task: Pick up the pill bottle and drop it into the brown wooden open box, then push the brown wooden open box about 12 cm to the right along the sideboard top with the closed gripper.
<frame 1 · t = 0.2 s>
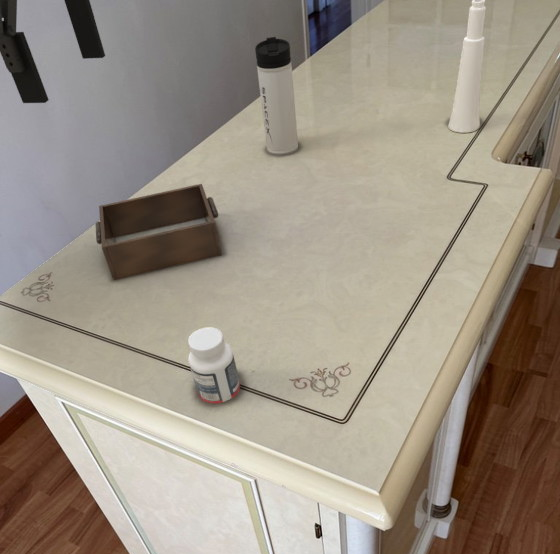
hand: (67, 78, 67), 31 cm above the sideboard top, tool pointing down, fingers open, 13 cm apart
pill bottle: (220, 392, 73), on the sideboard top
brown wooden open box: (164, 249, 97), on the sideboard top
travel mug: (283, 152, 118), on the sideboard top
cosmetic bottle: (463, 127, 118), on the sideboard top
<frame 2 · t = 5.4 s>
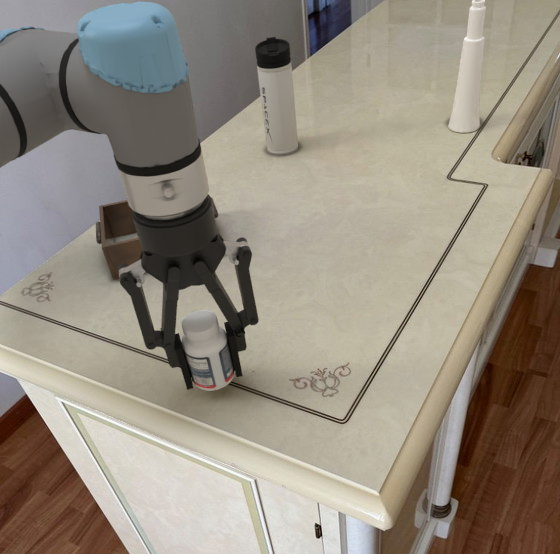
hand: (213, 374, 71), 3 cm above the sideboard top, tool pointing down, fingers closed on pill bottle, 5 cm apart
pill bottle: (213, 377, 71), point 2 cm above the sideboard top, touching gripper
everything else where it was.
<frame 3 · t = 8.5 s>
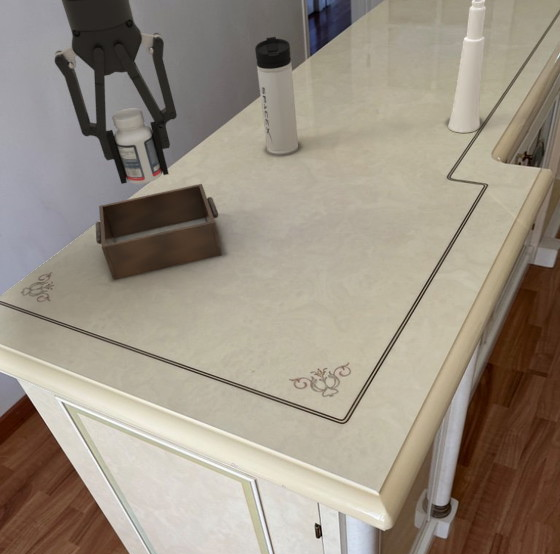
hand: (144, 174, 84), 15 cm above the sideboard top, tool pointing down, fingers closed on pill bottle, 5 cm apart
pill bottle: (145, 177, 84), point 14 cm above the sideboard top, touching gripper
everything else where it was.
when the fingers open (2 cm above the sideboard top, at t = 11.8 s): pill bottle drops 1 cm, resting on brown wooden open box.
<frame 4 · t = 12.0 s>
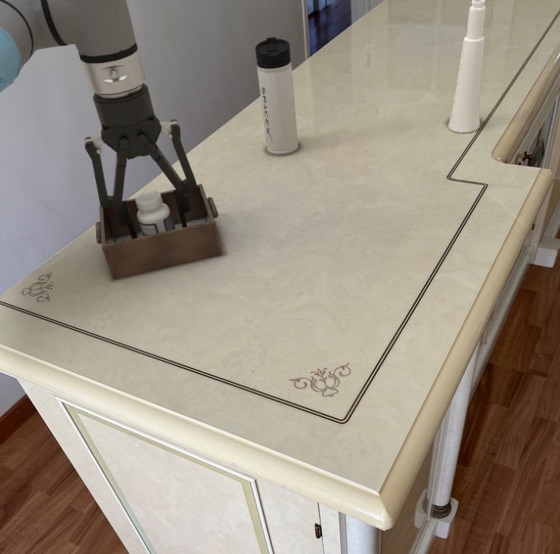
hand: (160, 235, 95), 3 cm above the sideboard top, tool pointing down, fingers open, 7 cm apart
pill bottle: (163, 246, 97), resting on brown wooden open box
brown wooden open box: (164, 249, 97), on the sideboard top, touching pill bottle
everything else where it was.
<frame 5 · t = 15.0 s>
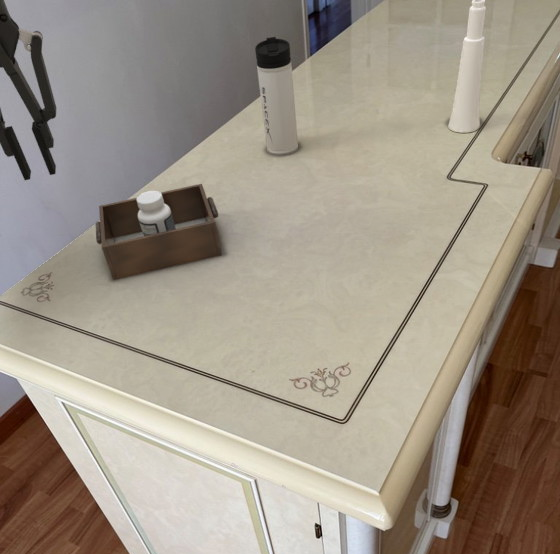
hand: (40, 172, 84), 17 cm above the sideboard top, tool pointing down, fingers open, 3 cm apart
nothing on the sideboard top moved.
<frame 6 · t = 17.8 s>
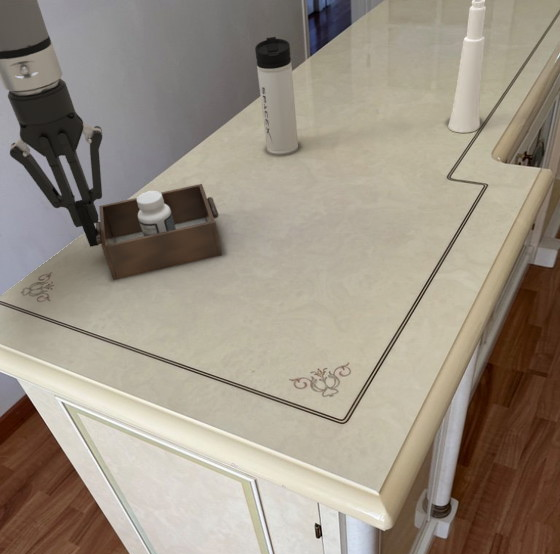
hand: (94, 241, 93), 4 cm above the sideboard top, tool pointing down, fingers closed
brown wooden open box: (165, 249, 97), on the sideboard top, touching gripper, pill bottle
everything else where it was.
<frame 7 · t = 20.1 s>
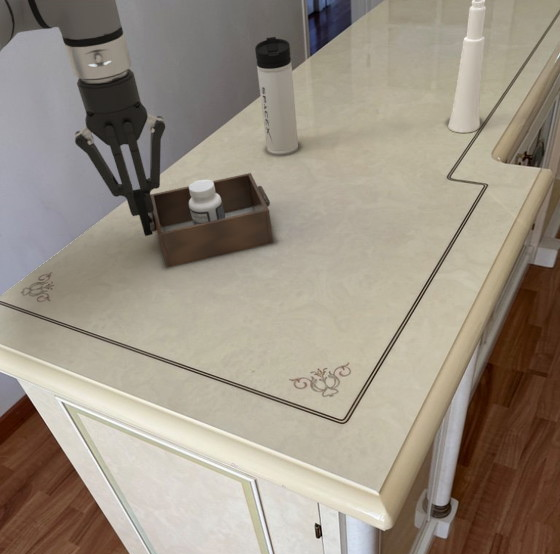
hand: (148, 230, 94), 4 cm above the sideboard top, tool pointing down, fingers closed
pill bottle: (212, 235, 97), resting on brown wooden open box
brown wooden open box: (214, 237, 98), on the sideboard top, touching gripper, pill bottle
everything else where it was.
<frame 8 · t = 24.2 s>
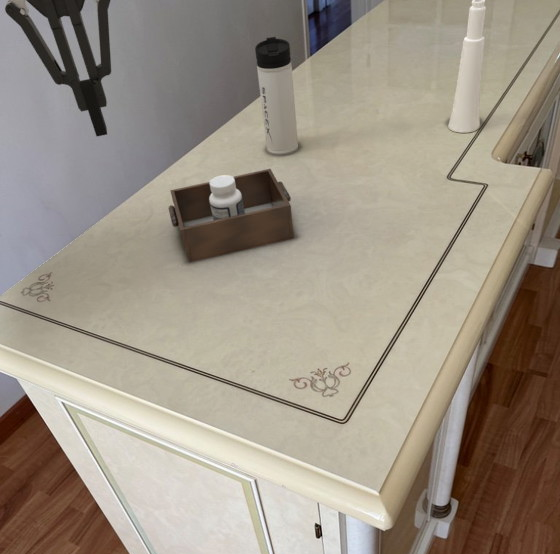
hand: (101, 131, 82), 20 cm above the sideboard top, tool pointing down, fingers closed
pill bottle: (231, 231, 98), resting on brown wooden open box
brown wooden open box: (234, 233, 98), on the sideboard top, touching pill bottle
everything else where it was.
at the end: brown wooden open box inside the target area (0.7 cm from its centre), on the sideboard top; pill bottle inside the target area on the brown wooden open box (0.4 cm from its centre), point 0.4 cm above the brown wooden open box's base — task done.
